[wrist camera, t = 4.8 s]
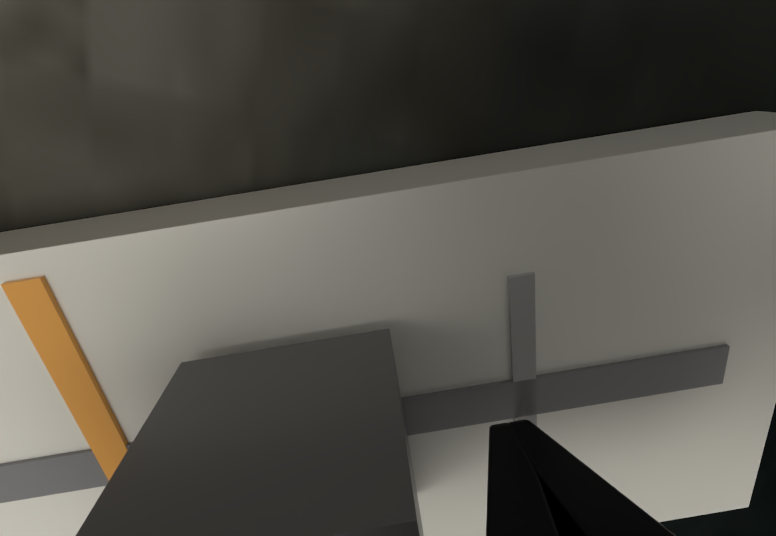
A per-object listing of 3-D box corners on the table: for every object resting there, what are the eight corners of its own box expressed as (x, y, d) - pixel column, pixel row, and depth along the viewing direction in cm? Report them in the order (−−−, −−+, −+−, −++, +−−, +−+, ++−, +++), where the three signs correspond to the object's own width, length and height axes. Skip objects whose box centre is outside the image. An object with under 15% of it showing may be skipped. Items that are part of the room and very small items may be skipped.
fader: (389, 328, 8) (418, 529, 5) (419, 509, 10) (457, 752, 7) (181, 362, 8) (41, 592, 5) (251, 537, 10) (193, 798, 7)
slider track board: (755, 110, 10) (856, 118, 8) (695, 449, 14) (752, 511, 12) (-153, 256, 10) (-284, 301, 8) (52, 556, 14) (2, 637, 12)
